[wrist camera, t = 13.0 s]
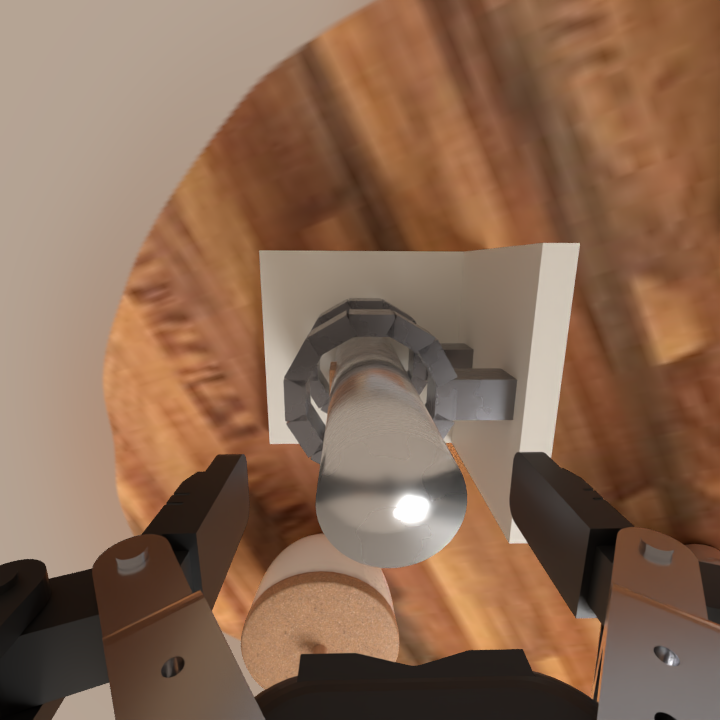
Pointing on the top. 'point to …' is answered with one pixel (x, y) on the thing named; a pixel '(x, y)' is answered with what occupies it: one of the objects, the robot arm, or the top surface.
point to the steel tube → (384, 463)
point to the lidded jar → (316, 611)
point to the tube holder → (441, 334)
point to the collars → (426, 362)
